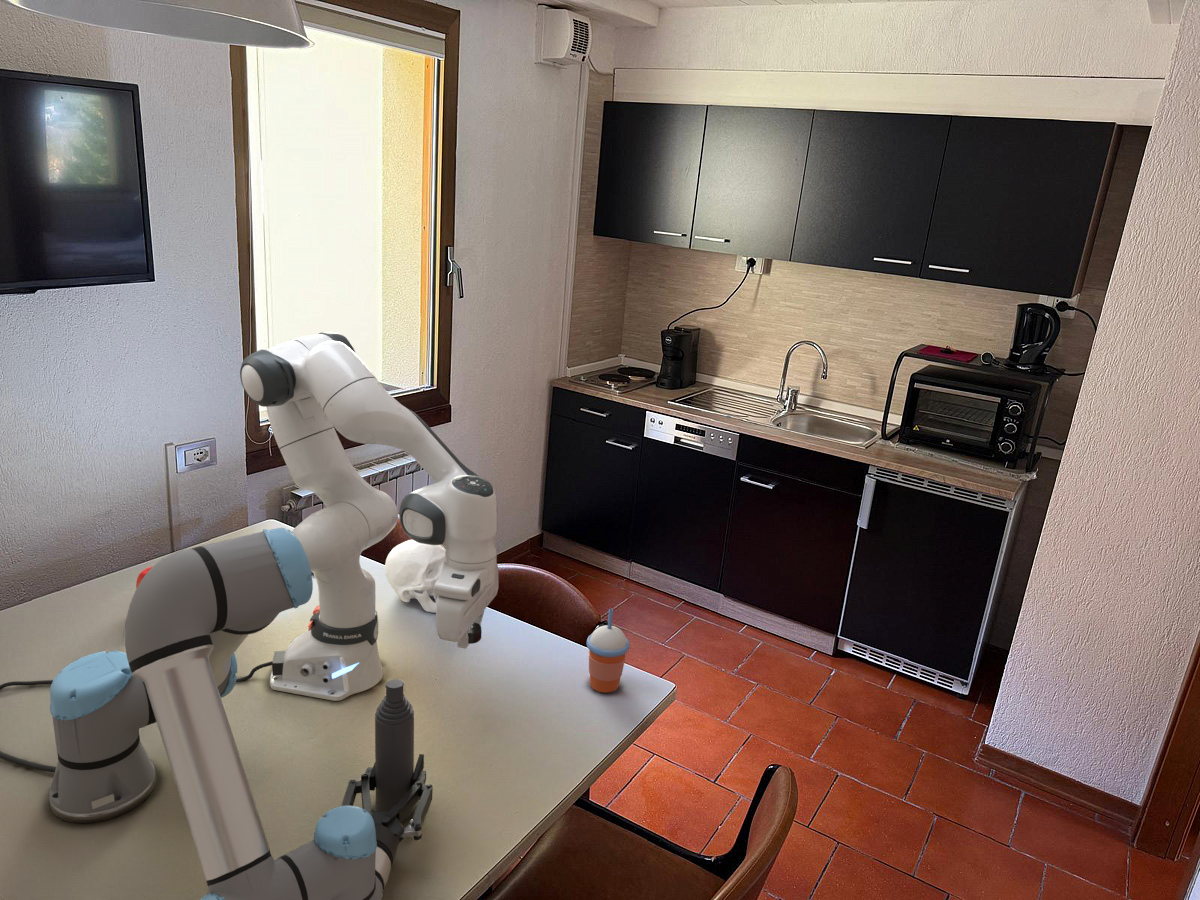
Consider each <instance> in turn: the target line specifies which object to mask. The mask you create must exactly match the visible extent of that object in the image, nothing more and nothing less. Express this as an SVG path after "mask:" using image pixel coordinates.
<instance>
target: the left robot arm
mask: <svg viewBox="0 0 1200 900" xmlns="http://www.w3.org/2000/svg"><path fill="white" fill-rule="evenodd" d="M152 566H153V567H152ZM152 566H151V567H152V568H151V569H150V570H149V571H148V572H147V574H146V575H145V576H144V578H143V579H142V581H141V582H140V584H139V586H138V587H137V589H136V588H135V591H134V593H133V596H132V598H131V601H130V603H129V607H128V610H127V615H126V619H125V627H124V647H125V652H124V651H120V650H111V651H109V652H107V651H105V650H103V651H98V652H93V653H90V654H88V655H85V656H82V657H80V658H78V659H76V660H74V661H72V662H71V663H69V664H67V665H66V666H65V667H64V668H62V669H61V670H60V671H59V672H58V674H57V675H56V676H55V677H54V679H52V680H53V682H52V684H50V689H49V692H50V693H49V695H50V696H49V698H50V699H49V701H50V703H49V712H50V715H51V716H52V725H53V732H54V738H55V739H54V741H55V747H56V755H57V764H56V766H54V765H48V764H42V763H37V762H34V761H29V760H26V759H23V758H20V757H17V756H13V755H11V754H8V753H6V752H4V751H1V750H0V759H2V760H4V761H7V762H10V763H13V764H15V765H19V766H22V767H26V768H28V769H29V768H30V769H34V770H38V771H42V772H47V773H52V774H53V778H52V780H51V785H50V789H49V792H48V800H49V806H50V810H51V812H52V814H53V815H55V816H56V817H57V818H58V819H61V820H62V821H65V822H69V823H76V824H88V823H97V822H101V821H106V820H109V819H113V818H115V817H119V816H121V815H124V814H125V813H128V812H129V811H131V810H133V809H134V808H136V807H137V806H139V805H140V804H142V803H143V802H144V801H145V800H146V799H147V798H148V797H150V795H151V794H152V792H153V791H154V789H155V786H156V783H157V773H156V766H155V765H154V761H152V759H151V758H150V757H149V755H148V753H147V750H146V749H145V747H144V745H143V743H142V742H141V737H140V729H142V728H145V727H147V726H151V725H153V724H155V723H156V724H157V727H158V732H159V734H160V737H161V741H162V744H163V747H164V749H165V753H166V757H167V760H168V763H169V766H170V769H171V773H172V775H173V779H174V783H175V785H176V788H177V791H178V795H179V798H180V801H181V804H182V807H183V811H184V814H185V817H186V820H187V824H188V827H189V830H190V832H191V837H192V840H193V843H194V845H195V849H196V852H197V856H198V859H199V862H200V865H201V868H202V871H203V872H202V873H203V875H204V877H205V882H206V885H207V889H208V893H206V894H205V895H204V896H203V897H201V898H200V899H199V900H382V899H383V896H384V892H385V888H386V885H387V882H388V881H389V880H388V879H389V876H390V873H391V870H392V867H393V864H394V860H395V857H396V854H397V851H398V848H399V845H400V844H401V843H402V842H403V841H404V839H405V838H411V837H413V841H420V840H421V839H422V835H423V834H422V832H423V831H422V829H423V824H424V822H425V819H426V816H427V815H428V812H429V809H430V806H431V804H432V801H433V792H434V791H433V787H434V786H433V785H432V784H430V783H427V784H426V782H427V771H426V770H424V768H425V767H424V766H425V754H423V753H419V754H418V758H417V761H416V764H415V766H414V773H413V776H412V779H411V788H410V789H409V791H408V792H407V793H406V794H405V795H404V797H403V798H402V799H401V800H400V802H399V803H398V804H397V805H396V806H393V807H392V809H391V810H390V811H389V812H379V811H376V810H373V808H372V807H373V806H372V798H371V792H374V791H375V762H374V763H373V766H372V767H370V766H368V767H367V768H366V769H365V772H364V773H362V774H361V775H360V780H356V779H350V780H349V781H348V784H347V787H346V789H345V793H344V796H343V800H342V803H341V805H340V806H337V807H334V808H332V809H329V810H327V811H326V812H325V813H324V814H323V815H322V817H321V818H320V819H319V820H318V821H317V822H316V826H315V831H314V833H313V839H311V840H310V841H308V842H306V843H305V844H302V845H299V847H297V848H295V849H292V850H291V851H289V852H287V853H285V854H283V855H281V856H279V857H277V858H275V859H274V858H273V855H272V853H271V851H270V850H271V848H270V845H269V842H268V840H267V835H266V833H265V830H264V826H263V824H262V820H261V817H260V815H259V812H258V811H259V810H258V809H257V805H256V802H255V799H254V795H253V792H252V790H251V787H250V784H249V780H248V777H247V774H246V771H245V768H244V765H243V762H242V759H241V756H240V753H239V749H238V746H237V743H236V740H235V737H234V734H233V731H232V727H231V725H230V721H229V718H228V716H227V713H226V708H225V706H224V702H223V700H222V698H225V697H226V696H228V695H229V694H230V693H231V692H232V690H234V688H235V686H236V683H237V682H236V679H238V677H237V673H238V662H237V658H236V657H237V656H236V654H235V652H236V651H237V650H238V649H239V648H240V646H241V645H242V643H243V642H244V641H245V640H246V639H247V638H248V636H249V635H253V634H256V633H259V632H260V631H261V632H262V631H263V630H264V629H265V628H267V627H268V626H269V625H270V624H272V622H274V620H275V619H276V618H277V617H278V615H279V614H280V613H282V612H285V611H288V610H291V609H298V608H299V607H300V606H303V605H305V604H307V603H309V601H310V599H311V598H312V596H313V590H314V588H313V587H314V584H313V583H314V582H313V573H312V572H311V569H310V565H309V561H308V558H307V556H306V553H305V551H304V548H303V546H302V544H301V543H300V541H299V539H298V538H297V537H296V536H295V534H293V533H292V530H290V529H289V528H285V527H276V528H271V529H266V528H264V529H262V531H259V532H255V533H250V534H245V535H242V536H237V537H233V538H229V539H224V540H220V541H216V542H212V543H208V544H203V545H199V546H196V547H192V548H190V547H189V548H188V547H187V548H183V549H180V550H177V551H175V552H173V553H170V554H168V555H166V556H164V557H163V558H161V559H160V560H159V561H158V562H156V563H155V564H154V565H152ZM357 794H360V795H361V807H360V806H358V805H357V806H356V805H355V802H356V798H357ZM416 804H417V806H416ZM415 806H416V807H415ZM414 807H415V809H414ZM412 808H413V809H414V812H413V816H412V819H410V820H409V823H408V824H407V826H406V827H404V826H403V824H402V823H403V821H404V820H405V819H404V818H405V817H406V816H407V814H408V813H409V812H410V811H411V809H412ZM403 819H404V820H403Z"/></svg>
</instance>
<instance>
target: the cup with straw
mask: <svg viewBox="0 0 1200 900" xmlns="http://www.w3.org/2000/svg"><path fill="white" fill-rule="evenodd" d="M613 617H614V609H613V608H609V609H608V617H607V624H605V625H601V626H598V627H597V628H596V629H594V630H593V632H592V633H591V634H590V635H588V637H587V639H586V647H587V649H588V672H589V684H590V687H591V688H592V689H593V690H594V691H596V692H598V693H604V694H606V693H613V692H615V691H617V690H618V688H619V687H620V681H621V678H622V675H623V672H624V671H623V670H624V666H625V661H626V654H627V652H629V649H630V641H629V639H628V638H627V636H626V635H625V633H624V632H623V631H622V630H621V629H620V628H618V627H617V626H615V625H613Z"/></svg>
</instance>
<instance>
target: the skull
mask: <svg viewBox="0 0 1200 900" xmlns="http://www.w3.org/2000/svg"><path fill="white" fill-rule="evenodd" d="M444 562H445V547H444V546H443V545H428V544H422V543H418V542H416V541H414V540H412V539H408V540H405V541H403V542H401V543H399V544H397V545H396V546H393V548H392V549H391V551H389V553H388V554H387V557H386V559H385V563H384V573H385V577H386V580H387V582H388V584H389V585H390V588H392V590H393V591H394V592H395V593H396V594H397V596H398V598H399V599H400V600H401V601H402V602H404V603H410V601H411V599H416V600H417V601H418V603H419V604H420V605H421V607H422V609H423V610H424V612H425V611H426V612H427V613H433V614H436V604H437V599H438V596H439V595H435V593H434V586H435V583H436V581H437V579H438V577H439V575H440V573H441V571H442V568H443V564H444ZM430 596H431V597H433V599H434V600H432V599H431V597H430Z"/></svg>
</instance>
